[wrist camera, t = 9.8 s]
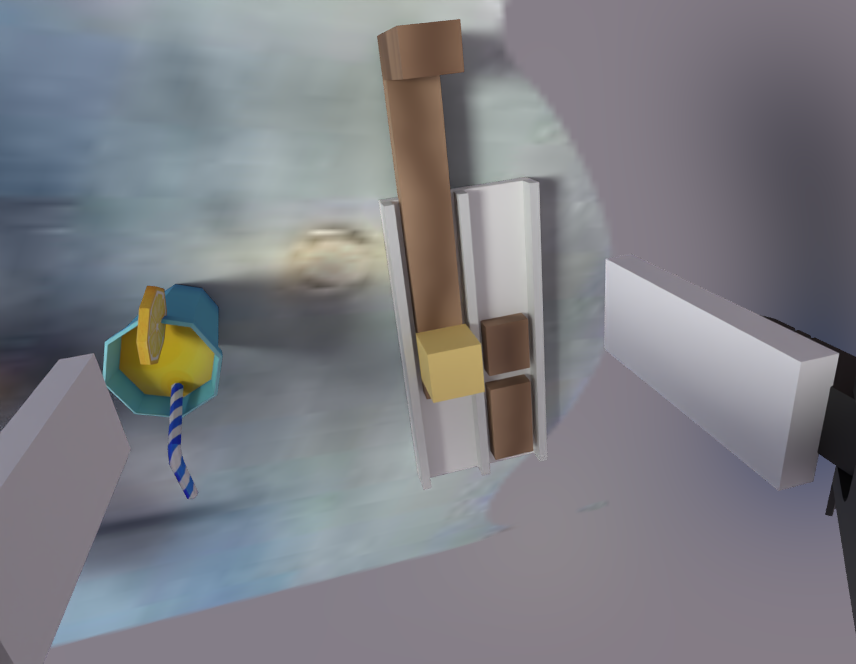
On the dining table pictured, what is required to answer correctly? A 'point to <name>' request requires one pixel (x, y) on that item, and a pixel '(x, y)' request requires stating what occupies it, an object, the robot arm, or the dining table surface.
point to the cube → (450, 362)
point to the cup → (167, 362)
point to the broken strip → (508, 385)
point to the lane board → (474, 317)
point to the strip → (423, 163)
